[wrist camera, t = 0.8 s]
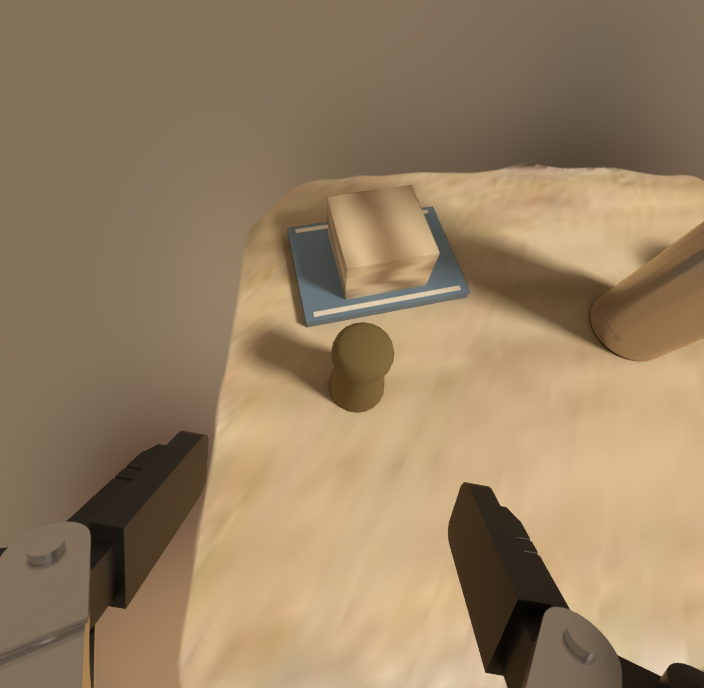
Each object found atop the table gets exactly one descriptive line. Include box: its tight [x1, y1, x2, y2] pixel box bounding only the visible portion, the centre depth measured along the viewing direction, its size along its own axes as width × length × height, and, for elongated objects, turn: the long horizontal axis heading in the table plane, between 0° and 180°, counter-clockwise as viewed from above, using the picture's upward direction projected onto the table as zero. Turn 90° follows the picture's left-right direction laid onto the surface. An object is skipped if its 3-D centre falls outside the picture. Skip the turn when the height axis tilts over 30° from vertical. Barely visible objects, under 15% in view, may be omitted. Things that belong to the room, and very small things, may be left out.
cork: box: [329, 322, 394, 413], centre depth 31 cm, size 6×6×11 cm
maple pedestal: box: [327, 185, 440, 300], centre depth 39 cm, size 10×10×6 cm
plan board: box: [287, 206, 470, 327], centre depth 42 cm, size 20×14×1 cm
